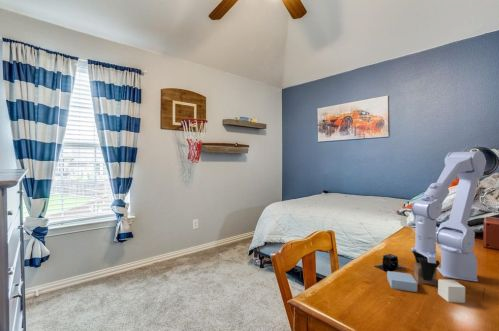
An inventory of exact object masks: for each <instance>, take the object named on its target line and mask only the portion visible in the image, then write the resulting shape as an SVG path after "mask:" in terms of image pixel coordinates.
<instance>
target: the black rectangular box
mask: <svg viewBox="0 0 499 331" xmlns="http://www.w3.org/2000/svg"><path fill="white" fill-rule="evenodd" d="M373 267H374V268H377V269H378V270H381V271H383V272H385V273H387V271H391V272H398V271H400V270H401V271H402V270H406V269H407V267H405V266H402V265H400V264H399V258H398V256H397V255H394V254H391V253H390V254H383V257H382V264H377V265H373Z"/></svg>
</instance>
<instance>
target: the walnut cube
mask: <svg viewBox="0 0 499 331" xmlns="http://www.w3.org/2000/svg"><path fill="white" fill-rule="evenodd" d="M413 264H414V269H413V271H414V272H413V274H414V275H413V278H414V279H415V281H416V282H417V284H423V285H430V286H437V269H436V270H435V272H434V275H433V278H432V281H426V280H424V279H423V276H422V269H421V265H420V263H416V261H415V262H414V263H413Z"/></svg>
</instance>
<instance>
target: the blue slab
mask: <svg viewBox="0 0 499 331" xmlns="http://www.w3.org/2000/svg"><path fill="white" fill-rule="evenodd" d="M386 273H387V274H386V277H387V278H386V279H387V281H388V283H389V286H390V288H391V289H394V290H400V291H408V292H413V293H414V292H415V293H418V282H417V280H416V279H415V277H414V275H412V274H411V273H405V272H399V271H392V272H391V271H387V272H386Z"/></svg>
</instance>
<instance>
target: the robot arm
mask: <svg viewBox="0 0 499 331" xmlns="http://www.w3.org/2000/svg"><path fill="white" fill-rule="evenodd" d="M486 164H487V160H486V156H485V153H484V152H482V151H481V150H474V151H449V152H448V153H447V155H445V158H444V168H443V170H442V171H441V173H440V175H439V177H438V178H437V181H436V182H433V183H430V185H429V186H428V187H427V189H426V190H425V191H424V193H423V195H422V197H421V198H420V199H418V200H415V201H414V202H413V203H412V206H411V207H410V208H411V209H410V211H411V214H412V216H413V220H414V221H415V223H414V224H415V229H414V230H415V233H414V234H415V235H414V239H415V240H414V244H415V245H414V247H413V246H412V247H410V250H411V252H412V254H413V256H414V260H415V262H416V263H420V265H421V269H422V276H423V279H424V280H426V281H432V278H433V275H434V272H435V270H436V271H438V272H439V273H440V274H441V275H442V277H444V278H448V279H454V280H455V279H456V280H463V281H471V282H478V281H479V279H478V260H477V256H476V254H475V253H474V252H473V249H474V248H475V244H476V243H475V237H476V236H475V235H476V232H475V231H474V230H473V229H472V228H471V227H470V226H469V225H468V223H469V219H470V215H471V211H472V207H473V203H474V201H475V200H474V199H475V196H476V191H477V188H478V183H479V181H480V179H481V178H482V177H483V176H484V173H485V168H486ZM456 178H458V179H459V180H458V184H457V188H456V191H455V196H454V198H453V202H452V208H451V210H450V213H449V214H450V215H449V218H448V219H447V220H446V221H444V222H441V223H440V224H439V227H438V229H437V220H438V219H439V218H440V216H441V215H442V209H443V203H444V201H445V200H446V198H447V197H448V195H449V194H450V190H449V187H450V186H451V184H452V183H453V182H454V181H455V179H456ZM437 244H438V247H439V248H440V250H441V251H440V261H439V260H437V250H436V249H437ZM439 266H440V267H439Z"/></svg>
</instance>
